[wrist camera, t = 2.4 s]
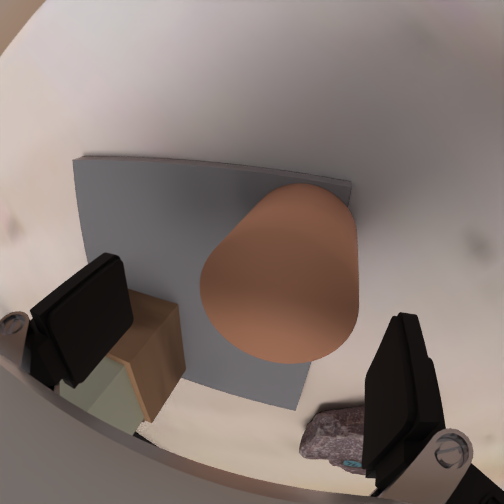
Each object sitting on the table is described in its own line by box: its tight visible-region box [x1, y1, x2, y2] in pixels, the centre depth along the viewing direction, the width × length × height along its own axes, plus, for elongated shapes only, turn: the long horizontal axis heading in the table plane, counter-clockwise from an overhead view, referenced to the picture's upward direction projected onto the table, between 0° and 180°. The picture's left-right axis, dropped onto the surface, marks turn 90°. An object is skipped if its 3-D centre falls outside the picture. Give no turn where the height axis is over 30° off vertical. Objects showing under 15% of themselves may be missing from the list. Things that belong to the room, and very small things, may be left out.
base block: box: [106, 289, 186, 423], centre depth 20 cm, size 7×7×6 cm
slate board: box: [73, 156, 351, 411], centre depth 20 cm, size 18×18×1 cm
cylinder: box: [200, 183, 359, 364], centre depth 13 cm, size 6×6×6 cm
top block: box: [60, 356, 144, 435], centre depth 15 cm, size 6×6×5 cm
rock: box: [299, 406, 366, 475], centre depth 20 cm, size 8×11×5 cm
